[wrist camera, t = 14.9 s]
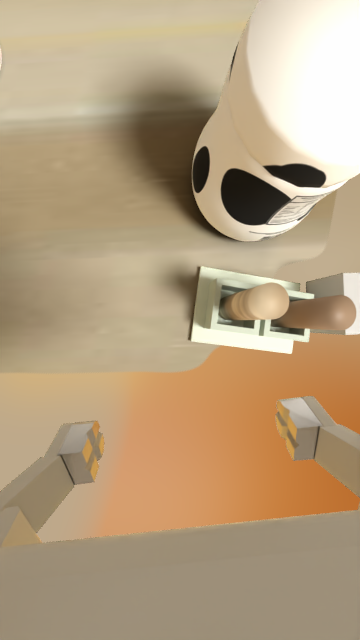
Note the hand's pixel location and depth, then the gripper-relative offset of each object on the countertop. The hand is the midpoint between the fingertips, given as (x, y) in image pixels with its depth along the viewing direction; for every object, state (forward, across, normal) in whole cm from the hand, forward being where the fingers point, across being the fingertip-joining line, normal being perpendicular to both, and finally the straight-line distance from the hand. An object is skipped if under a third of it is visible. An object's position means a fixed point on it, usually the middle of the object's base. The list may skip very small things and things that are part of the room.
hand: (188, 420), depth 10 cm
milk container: (+32, -12, -11) cm, 36 cm away
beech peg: (+24, -7, +4) cm, 25 cm away
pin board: (+25, -10, +6) cm, 27 cm away
